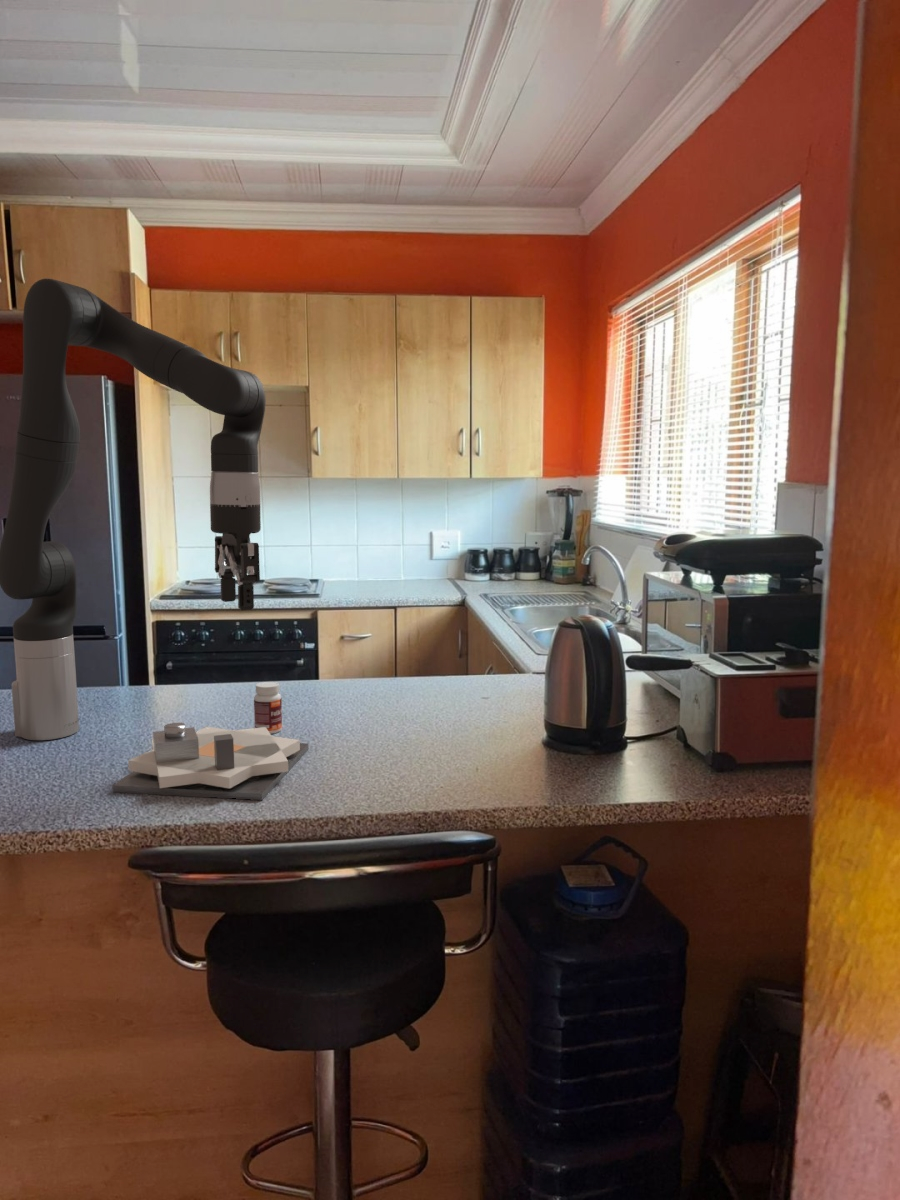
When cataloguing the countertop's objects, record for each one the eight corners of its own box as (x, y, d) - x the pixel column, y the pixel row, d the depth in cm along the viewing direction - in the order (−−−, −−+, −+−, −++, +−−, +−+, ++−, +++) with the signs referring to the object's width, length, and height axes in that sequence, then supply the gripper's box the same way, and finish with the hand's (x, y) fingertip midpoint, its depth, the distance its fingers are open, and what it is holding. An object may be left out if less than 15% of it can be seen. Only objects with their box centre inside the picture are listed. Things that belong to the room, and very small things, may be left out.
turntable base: (113, 792, 119) (112, 785, 118) (181, 743, 140) (181, 737, 140) (262, 800, 116) (261, 793, 116) (308, 749, 137) (308, 743, 137)
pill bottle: (275, 735, 145) (274, 688, 144) (250, 733, 146) (248, 686, 144) (286, 727, 149) (285, 681, 148) (261, 725, 150) (260, 680, 149)
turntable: (126, 744, 135) (124, 708, 134) (283, 727, 144) (282, 693, 143) (132, 801, 111) (129, 758, 110) (319, 776, 121) (318, 736, 120)
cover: (156, 763, 121) (154, 733, 121) (153, 750, 127) (152, 722, 126) (199, 758, 124) (197, 728, 123) (194, 746, 129) (193, 718, 128)
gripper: (197, 499, 132) (200, 600, 135) (225, 504, 121) (227, 614, 123) (243, 499, 136) (245, 597, 139) (275, 504, 125) (276, 610, 127)
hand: (237, 605), depth 131 cm, fingers open, 8 cm apart
